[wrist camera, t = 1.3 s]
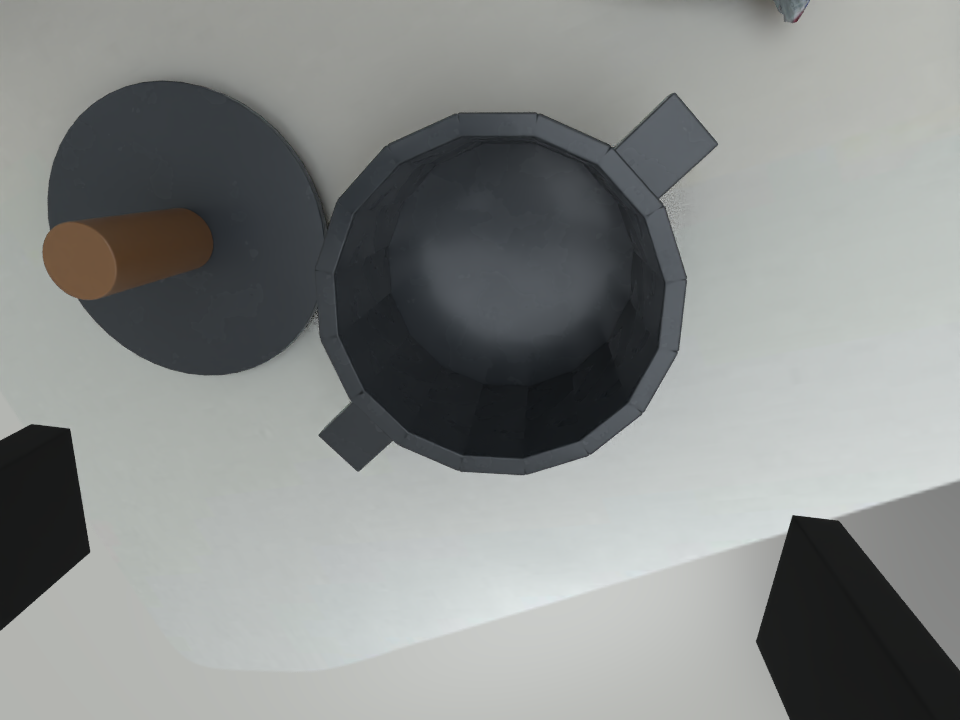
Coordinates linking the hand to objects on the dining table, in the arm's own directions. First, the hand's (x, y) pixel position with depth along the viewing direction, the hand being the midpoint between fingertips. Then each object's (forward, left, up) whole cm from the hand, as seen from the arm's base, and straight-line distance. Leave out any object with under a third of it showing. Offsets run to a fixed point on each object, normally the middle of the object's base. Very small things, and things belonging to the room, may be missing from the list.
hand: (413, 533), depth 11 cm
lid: (-13, -10, -21) cm, 27 cm away
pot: (0, +1, -22) cm, 22 cm away
